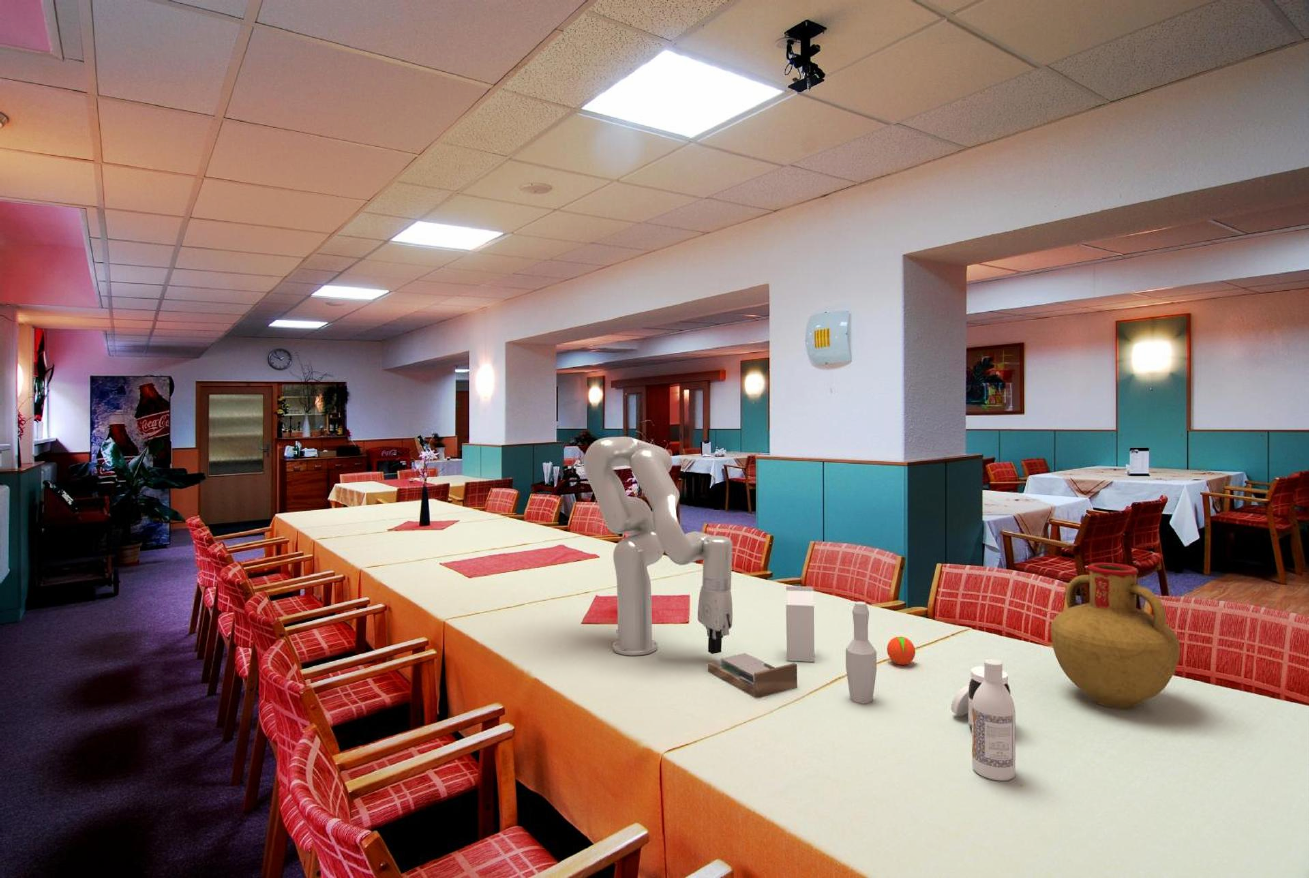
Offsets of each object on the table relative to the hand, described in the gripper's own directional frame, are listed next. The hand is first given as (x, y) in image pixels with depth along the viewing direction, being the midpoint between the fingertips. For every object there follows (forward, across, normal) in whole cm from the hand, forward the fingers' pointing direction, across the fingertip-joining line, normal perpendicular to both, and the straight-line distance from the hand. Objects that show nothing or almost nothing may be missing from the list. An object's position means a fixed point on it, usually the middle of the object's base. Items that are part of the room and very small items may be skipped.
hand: (714, 652), depth 181 cm
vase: (-2, +68, +60) cm, 90 cm away
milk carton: (+2, +10, +21) cm, 23 cm away
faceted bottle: (+1, +38, +14) cm, 40 cm away
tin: (+2, +10, +2) cm, 11 cm away
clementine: (+1, +28, +39) cm, 48 cm away
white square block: (+2, +18, +1) cm, 18 cm away
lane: (+2, +14, +1) cm, 14 cm away
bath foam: (0, +73, +10) cm, 73 cm away
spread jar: (0, +60, +25) cm, 65 cm away
